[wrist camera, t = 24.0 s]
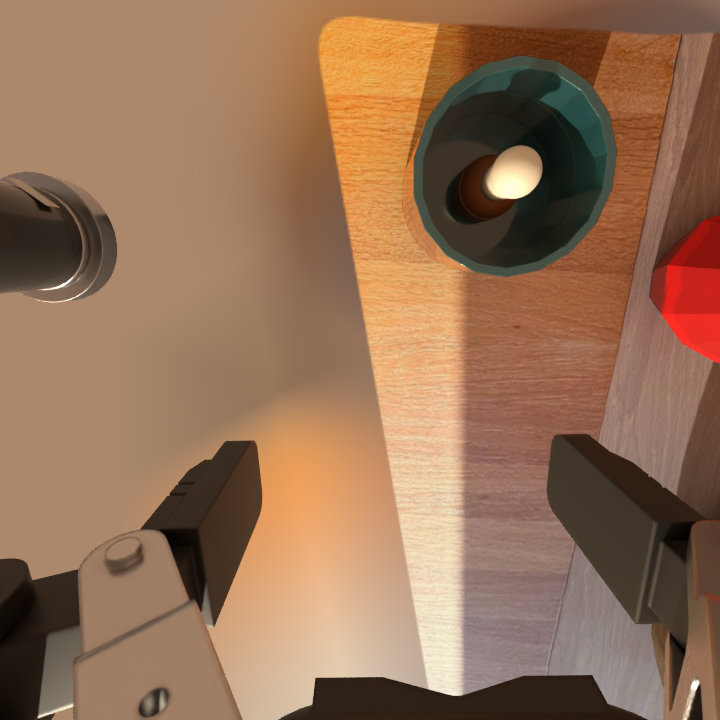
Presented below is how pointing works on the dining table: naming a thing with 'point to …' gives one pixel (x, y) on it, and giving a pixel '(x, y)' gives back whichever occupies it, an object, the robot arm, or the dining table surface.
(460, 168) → the bowl
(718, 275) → the bottle
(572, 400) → the dining table surface
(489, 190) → the drumstick
